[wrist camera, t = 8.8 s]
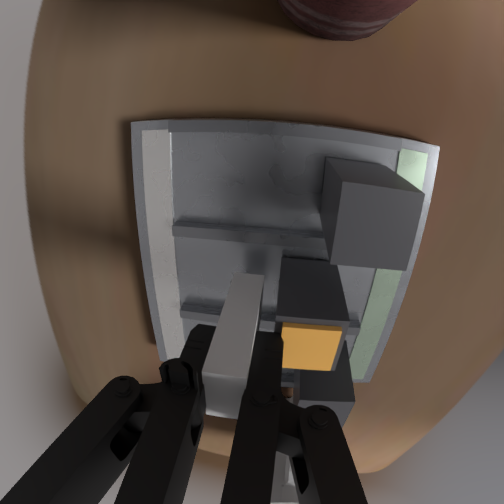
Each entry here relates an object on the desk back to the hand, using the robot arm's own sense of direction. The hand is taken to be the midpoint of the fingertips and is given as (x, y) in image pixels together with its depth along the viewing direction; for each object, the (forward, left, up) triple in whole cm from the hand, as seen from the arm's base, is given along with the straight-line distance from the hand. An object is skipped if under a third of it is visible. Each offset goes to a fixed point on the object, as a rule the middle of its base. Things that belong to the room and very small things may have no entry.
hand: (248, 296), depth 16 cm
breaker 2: (-5, +5, -2) cm, 8 cm away
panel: (0, +1, -3) cm, 4 cm away
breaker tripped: (0, +3, -2) cm, 3 cm away
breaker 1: (+5, +5, -2) cm, 7 cm away
